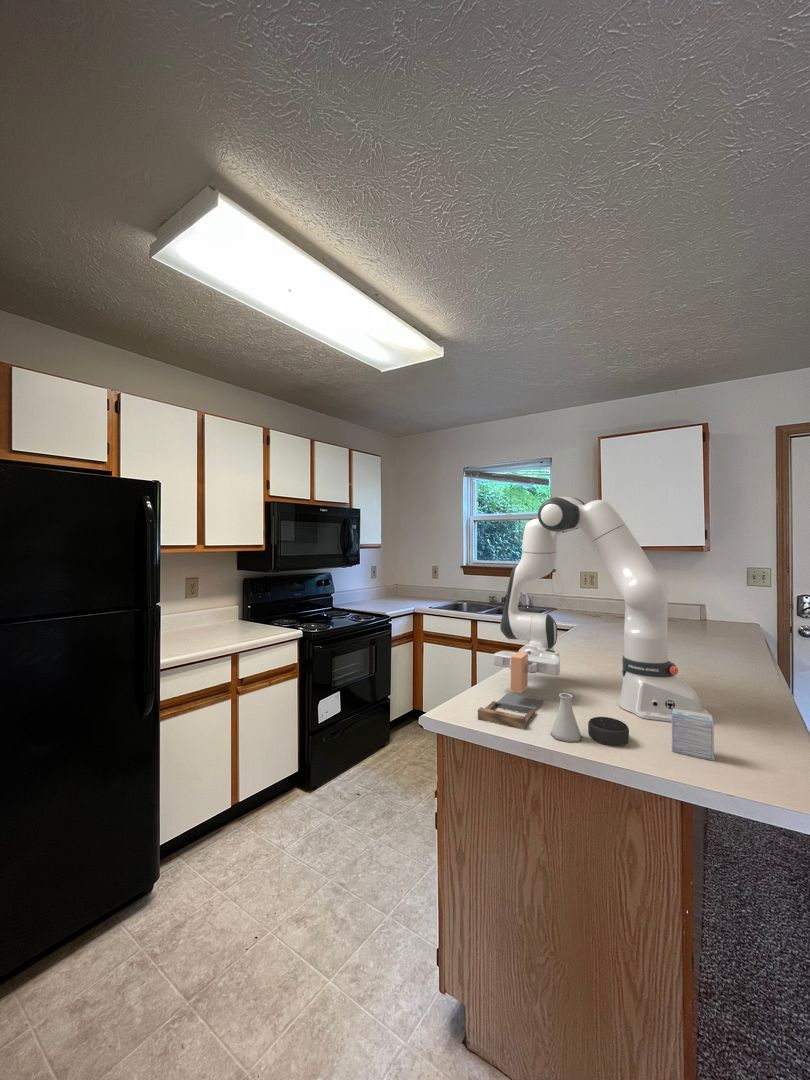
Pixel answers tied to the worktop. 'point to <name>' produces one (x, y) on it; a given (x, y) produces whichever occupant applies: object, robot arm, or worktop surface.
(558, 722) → the flask
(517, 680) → the orange rectangular block
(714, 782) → the worktop surface
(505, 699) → the mat
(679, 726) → the medicine box
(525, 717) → the wooden square frame
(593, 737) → the smart speaker
